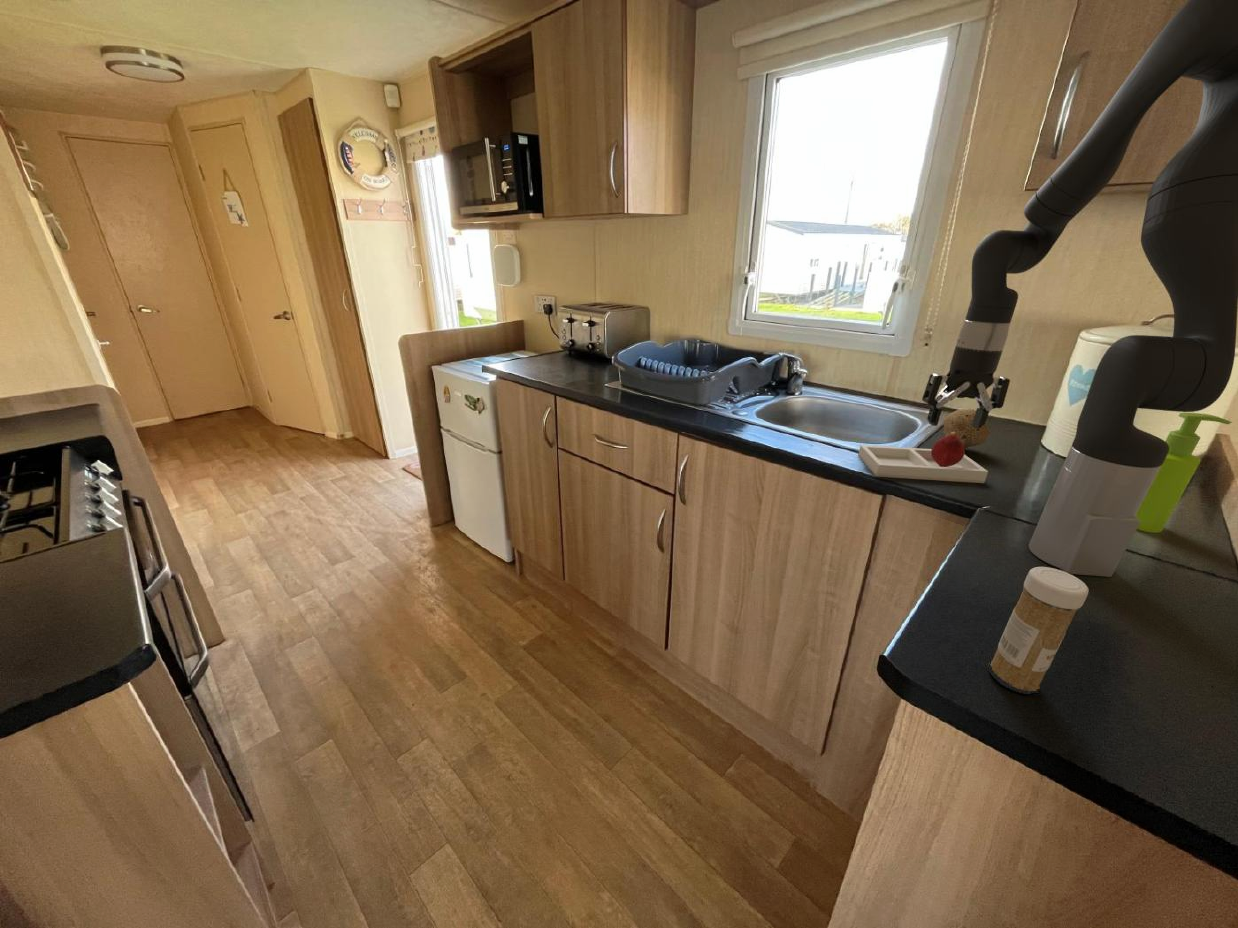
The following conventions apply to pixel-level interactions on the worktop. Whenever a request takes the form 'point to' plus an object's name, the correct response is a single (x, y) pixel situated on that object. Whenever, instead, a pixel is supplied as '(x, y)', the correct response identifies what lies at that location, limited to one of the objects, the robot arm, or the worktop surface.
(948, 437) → the onion
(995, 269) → the robot arm
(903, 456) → the well holder
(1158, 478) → the soap dispenser
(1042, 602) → the sprinkles bottle
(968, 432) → the natural sponge
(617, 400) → the worktop surface
